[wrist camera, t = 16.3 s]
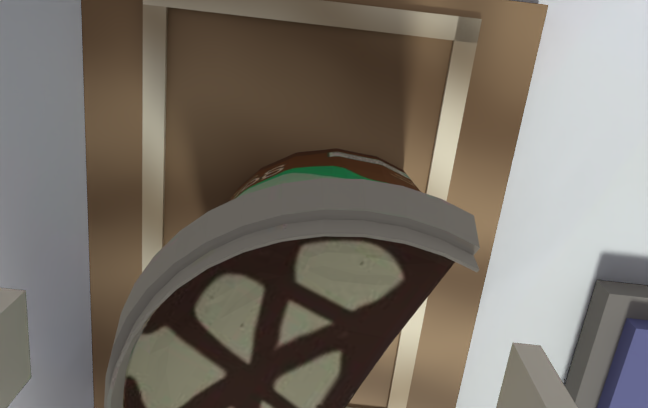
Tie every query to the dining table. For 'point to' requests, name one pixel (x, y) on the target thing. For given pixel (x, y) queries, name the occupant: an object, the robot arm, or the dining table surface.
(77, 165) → the dining table surface
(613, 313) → the ink pad
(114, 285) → the marked board
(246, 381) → the food container
